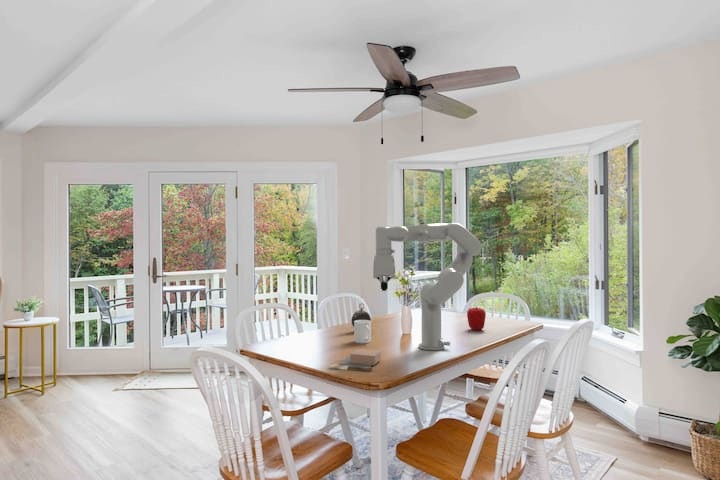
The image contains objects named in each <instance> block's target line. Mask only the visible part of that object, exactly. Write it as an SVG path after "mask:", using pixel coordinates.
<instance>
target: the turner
mask: <svg viewBox="0 0 720 480" xmlns="http://www.w3.org/2000/svg"><path fill="white" fill-rule="evenodd" d="M328 369H329V370H337V369H340V371H348V370H350V369H351V370H354V371H363V372H372V371H373V366H371V367H363V366H351V365H339V364H335V363H334V364H332V365H330V366H329V367H328Z"/></svg>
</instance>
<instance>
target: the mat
mask: <svg viewBox="0 0 720 480" xmlns="http://www.w3.org/2000/svg"><path fill="white" fill-rule="evenodd" d="M338 365H351V366H363V367H373V366H374V365H367V364H356V363H351V362H350V355H349V356H347V358H345V359H343V360H342V361H341V362H339V363H338Z"/></svg>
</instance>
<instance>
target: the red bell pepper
mask: <svg viewBox="0 0 720 480" xmlns="http://www.w3.org/2000/svg"><path fill="white" fill-rule="evenodd" d="M466 317H467V323H468V327H469V328H470V329H471V330H472V331H482V330H483V329H484V328H485V324H486V323H485V322H486V317H487V316H486V311H485V310H484V309H483V308H482V307H481V308H480V307H477V306H476V307H470V308H469V309H468V310H467V312H466Z"/></svg>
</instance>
